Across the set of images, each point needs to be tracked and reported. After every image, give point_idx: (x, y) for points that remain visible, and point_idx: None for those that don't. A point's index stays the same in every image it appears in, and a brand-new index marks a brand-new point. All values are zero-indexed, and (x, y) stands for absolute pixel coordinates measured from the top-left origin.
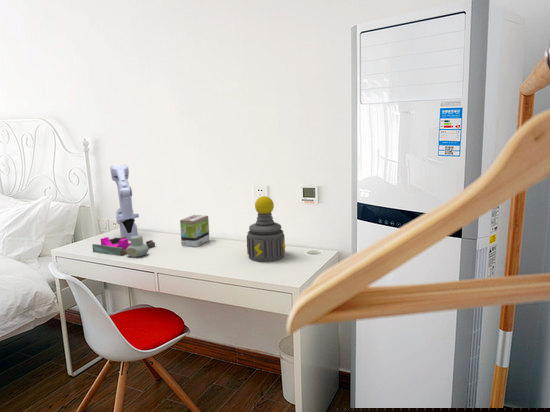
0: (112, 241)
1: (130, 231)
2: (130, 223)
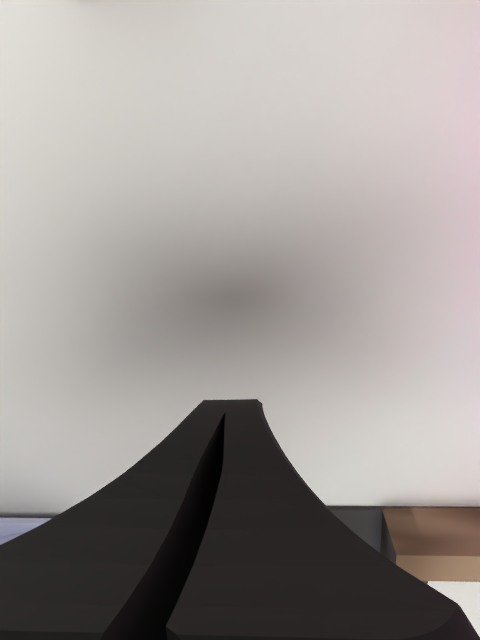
0: (399, 556)
1: (240, 407)
2: (242, 563)
